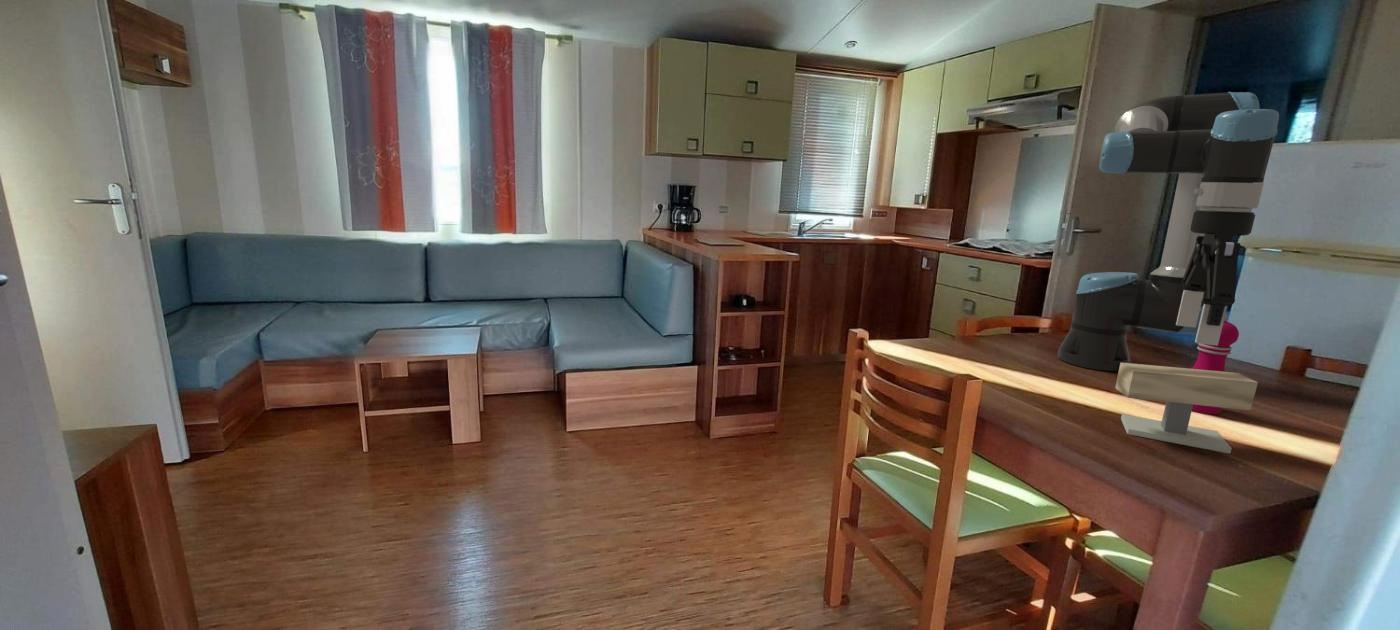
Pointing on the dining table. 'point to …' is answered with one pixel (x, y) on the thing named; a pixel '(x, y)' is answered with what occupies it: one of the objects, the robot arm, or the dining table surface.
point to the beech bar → (1186, 386)
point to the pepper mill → (1215, 358)
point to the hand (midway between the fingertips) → (1195, 334)
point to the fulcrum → (1176, 429)
